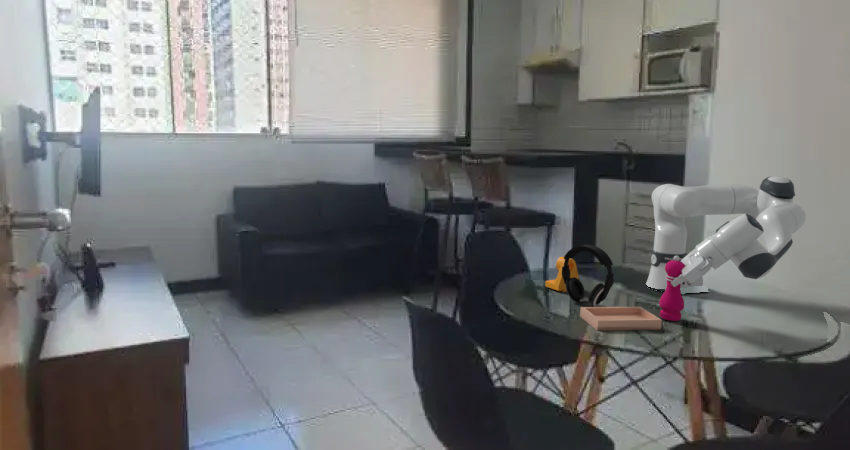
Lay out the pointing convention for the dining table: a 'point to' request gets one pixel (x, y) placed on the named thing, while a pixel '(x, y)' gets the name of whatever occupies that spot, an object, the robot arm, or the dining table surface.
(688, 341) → the dining table surface
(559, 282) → the bracket
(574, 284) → the headphones
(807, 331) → the dining table surface
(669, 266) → the pepper mill
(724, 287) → the dining table surface
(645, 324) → the tray
